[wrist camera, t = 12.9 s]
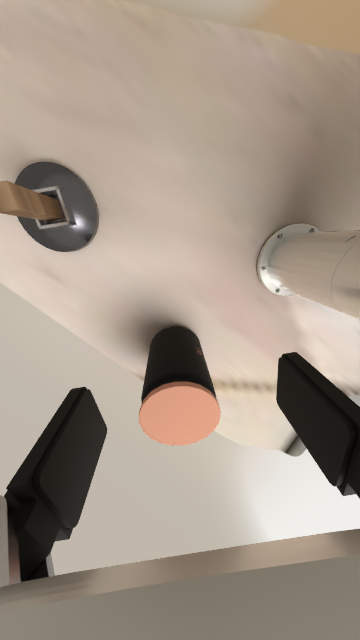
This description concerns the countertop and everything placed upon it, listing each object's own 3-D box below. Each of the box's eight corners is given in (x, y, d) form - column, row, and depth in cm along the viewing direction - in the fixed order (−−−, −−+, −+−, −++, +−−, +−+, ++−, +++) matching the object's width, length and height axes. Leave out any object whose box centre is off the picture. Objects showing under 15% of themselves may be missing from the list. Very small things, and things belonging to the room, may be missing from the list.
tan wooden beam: (58, 200, 29) (5, 180, 19) (64, 218, 30) (17, 208, 20) (42, 202, 29) (-18, 184, 19) (49, 221, 30) (-5, 212, 20)
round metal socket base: (83, 158, 28) (73, 148, 25) (108, 245, 32) (102, 245, 29) (3, 172, 28) (-16, 164, 25) (39, 256, 33) (27, 258, 30)
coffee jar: (193, 369, 44) (209, 448, 27) (147, 363, 42) (133, 442, 26) (205, 328, 40) (231, 391, 23) (154, 320, 38) (143, 380, 22)
